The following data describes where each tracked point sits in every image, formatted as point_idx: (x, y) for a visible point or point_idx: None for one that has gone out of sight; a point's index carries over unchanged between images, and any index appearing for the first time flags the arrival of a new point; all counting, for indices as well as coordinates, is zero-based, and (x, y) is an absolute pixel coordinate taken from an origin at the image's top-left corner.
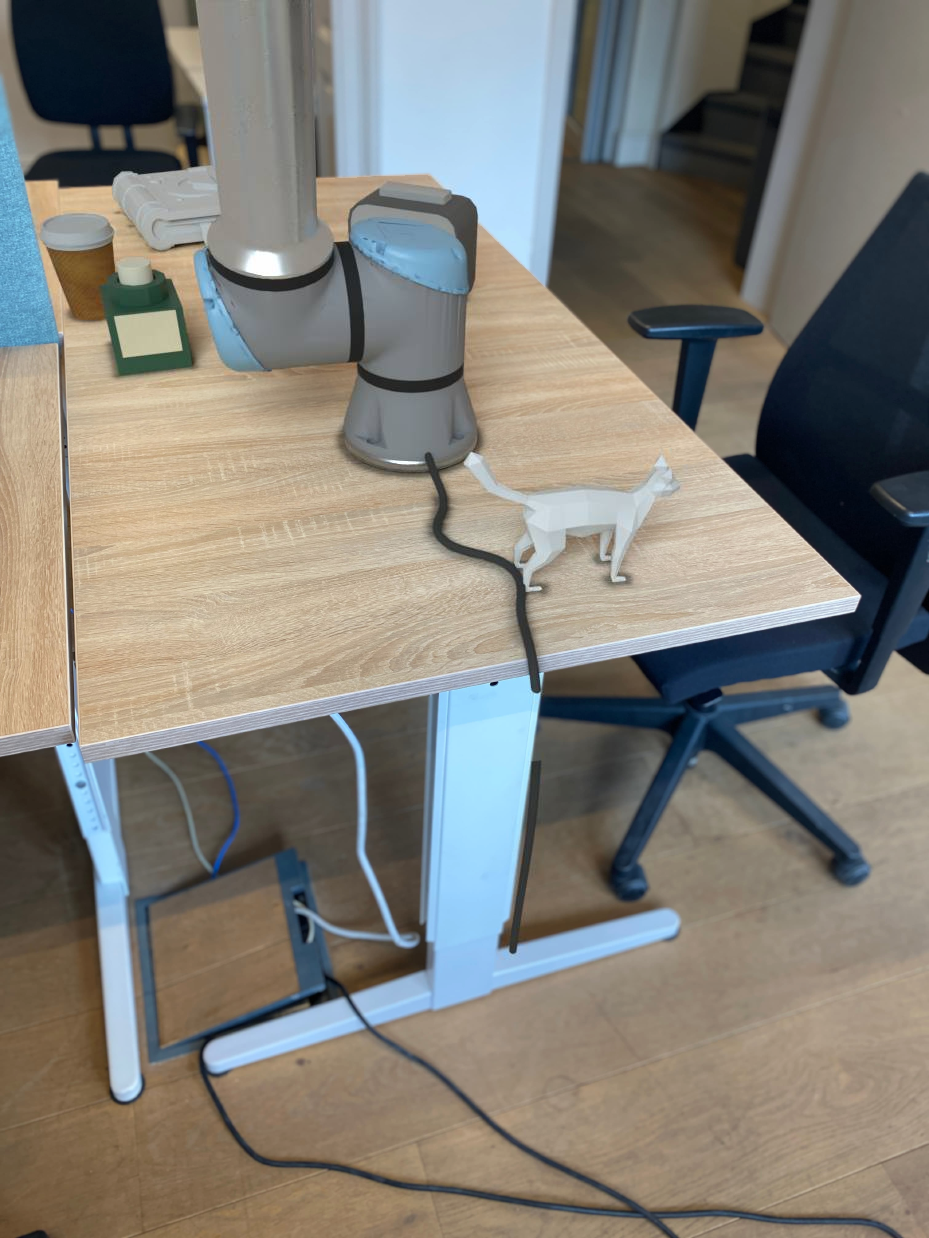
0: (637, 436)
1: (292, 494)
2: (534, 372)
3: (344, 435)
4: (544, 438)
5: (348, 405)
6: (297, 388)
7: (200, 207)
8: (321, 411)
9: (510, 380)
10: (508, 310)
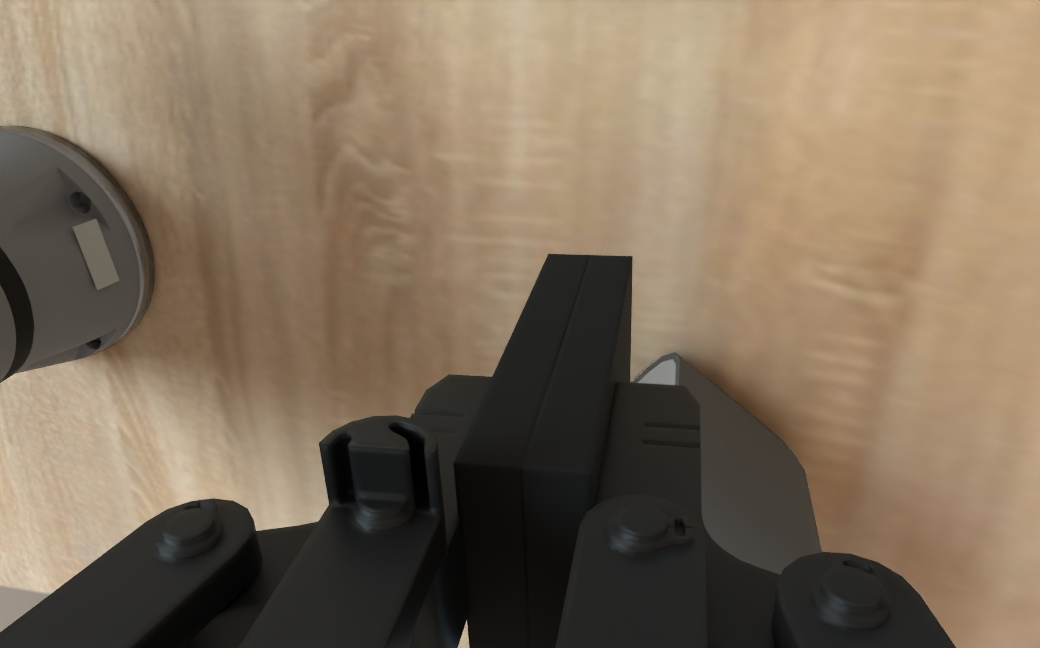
0: (57, 543)
1: None
2: (267, 518)
3: (8, 130)
4: (51, 431)
5: (1, 158)
6: (251, 94)
7: None
8: (151, 117)
9: (242, 472)
10: None
